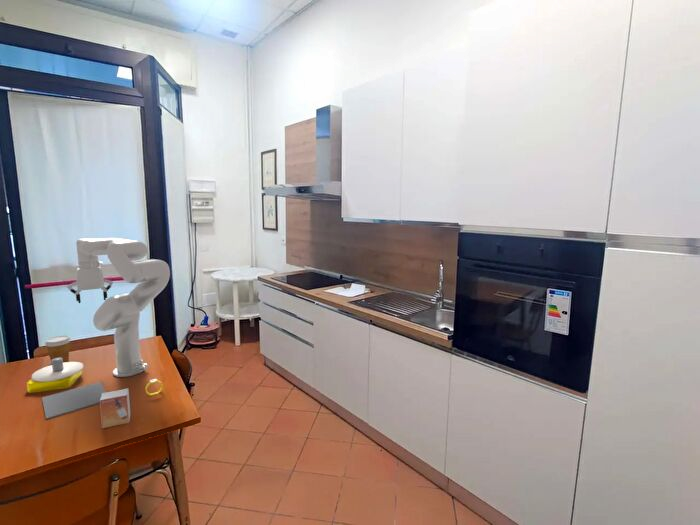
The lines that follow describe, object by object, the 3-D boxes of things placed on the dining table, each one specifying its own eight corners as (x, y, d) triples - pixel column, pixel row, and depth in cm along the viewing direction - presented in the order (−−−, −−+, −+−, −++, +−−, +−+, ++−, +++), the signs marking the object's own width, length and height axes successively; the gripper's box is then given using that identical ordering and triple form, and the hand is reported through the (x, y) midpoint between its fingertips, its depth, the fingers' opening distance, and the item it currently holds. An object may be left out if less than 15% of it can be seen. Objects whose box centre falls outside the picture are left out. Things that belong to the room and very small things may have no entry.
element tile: (25, 394, 141) (24, 383, 141) (43, 377, 155) (41, 367, 155) (70, 388, 146) (69, 377, 146) (83, 372, 160) (82, 362, 160)
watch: (147, 398, 140) (144, 384, 138) (146, 395, 142) (143, 381, 141) (163, 392, 143) (161, 379, 142) (162, 390, 145) (160, 376, 144)
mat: (110, 400, 137) (109, 398, 137) (46, 419, 124) (45, 418, 124) (100, 382, 151) (100, 381, 151) (42, 398, 138) (41, 397, 138)
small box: (101, 429, 119) (98, 400, 118) (104, 420, 124) (101, 392, 123) (129, 423, 123) (127, 394, 121) (130, 414, 128) (128, 387, 126)
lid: (85, 373, 150) (84, 360, 149) (32, 386, 139) (30, 372, 138) (81, 360, 163) (79, 348, 162) (31, 371, 151) (29, 358, 150)
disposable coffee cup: (69, 356, 176) (66, 333, 174) (75, 361, 171) (73, 338, 169) (44, 363, 168) (41, 339, 167) (51, 368, 163) (48, 344, 161)
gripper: (110, 262, 172) (114, 296, 174) (65, 265, 162) (69, 302, 164) (111, 264, 166) (114, 300, 168) (64, 268, 156) (68, 305, 158)
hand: (92, 301), depth 166 cm, fingers open, 9 cm apart
